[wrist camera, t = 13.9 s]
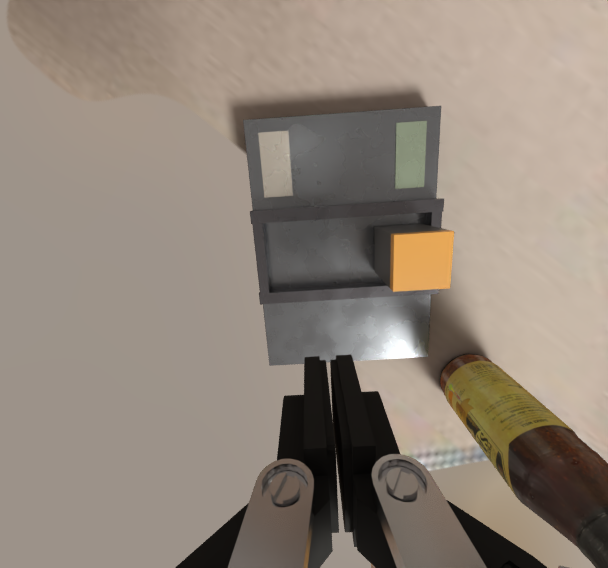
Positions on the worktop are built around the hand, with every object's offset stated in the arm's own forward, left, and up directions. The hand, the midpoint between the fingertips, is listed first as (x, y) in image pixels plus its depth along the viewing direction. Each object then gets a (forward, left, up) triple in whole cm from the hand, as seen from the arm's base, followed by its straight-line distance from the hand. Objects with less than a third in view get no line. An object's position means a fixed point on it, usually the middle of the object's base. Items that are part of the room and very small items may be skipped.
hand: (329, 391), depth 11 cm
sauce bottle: (+13, +16, -20) cm, 28 cm away
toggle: (-2, +7, -17) cm, 19 cm away
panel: (-2, +3, -19) cm, 20 cm away
